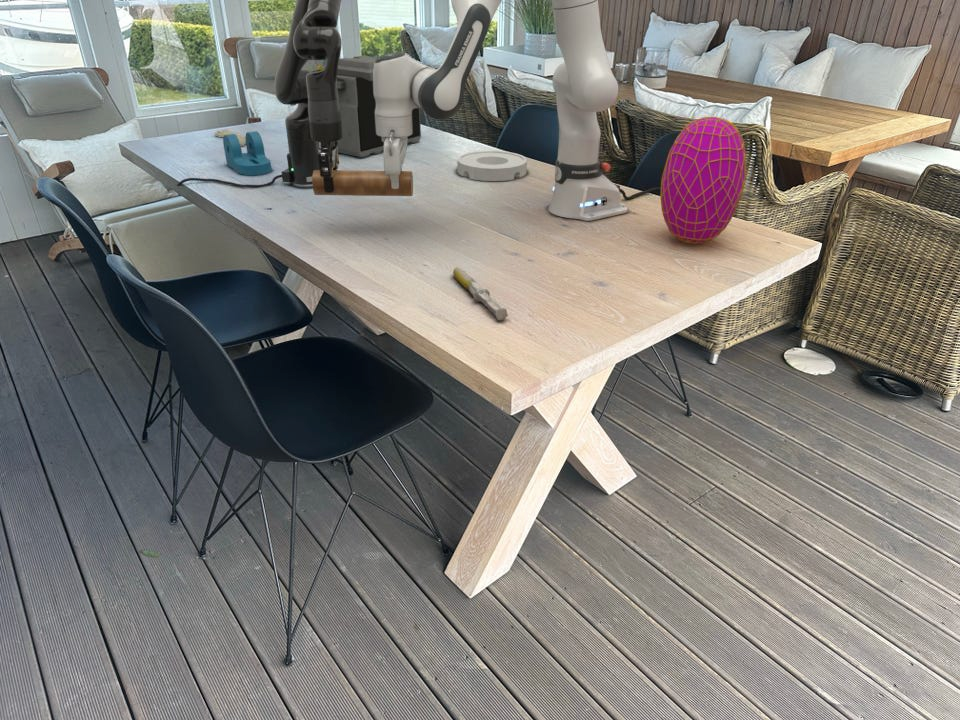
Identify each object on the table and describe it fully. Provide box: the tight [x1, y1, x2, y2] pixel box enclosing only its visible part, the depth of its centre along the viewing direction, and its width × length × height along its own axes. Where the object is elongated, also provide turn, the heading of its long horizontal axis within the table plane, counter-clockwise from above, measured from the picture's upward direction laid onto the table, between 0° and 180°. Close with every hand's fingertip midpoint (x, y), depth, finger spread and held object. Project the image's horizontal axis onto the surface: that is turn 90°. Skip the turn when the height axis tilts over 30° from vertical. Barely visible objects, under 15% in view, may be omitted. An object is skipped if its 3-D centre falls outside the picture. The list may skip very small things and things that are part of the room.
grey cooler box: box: [337, 55, 422, 159], centre depth 250 cm, size 37×22×30 cm, turn 144°
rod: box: [312, 169, 414, 197], centre depth 171 cm, size 24×6×6 cm, turn 91°
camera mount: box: [222, 131, 272, 176], centre depth 226 cm, size 18×10×10 cm, turn 35°
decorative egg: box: [659, 116, 747, 244], centre depth 167 cm, size 19×19×30 cm
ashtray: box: [456, 150, 528, 182], centre depth 228 cm, size 23×23×4 cm
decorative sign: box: [214, 129, 246, 147], centre depth 266 cm, size 26×1×10 cm
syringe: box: [452, 266, 509, 321], centre depth 145 cm, size 25×4×3 cm, turn 21°
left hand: (331, 187), depth 172 cm, fingers closed on rod, 6 cm apart
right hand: (396, 183), depth 172 cm, fingers closed on rod, 6 cm apart
